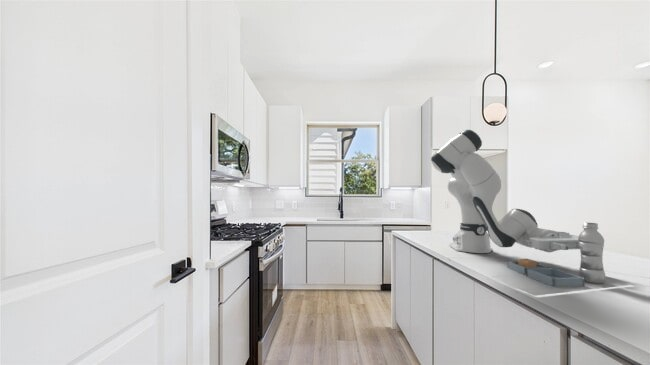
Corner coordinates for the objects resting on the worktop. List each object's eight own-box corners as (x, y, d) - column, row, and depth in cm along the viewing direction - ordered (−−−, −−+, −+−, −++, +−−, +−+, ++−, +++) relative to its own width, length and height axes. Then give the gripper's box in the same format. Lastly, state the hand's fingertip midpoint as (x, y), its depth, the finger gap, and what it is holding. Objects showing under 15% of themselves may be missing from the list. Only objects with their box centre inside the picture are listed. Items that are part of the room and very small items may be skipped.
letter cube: (518, 269, 107) (518, 259, 107) (527, 268, 108) (526, 258, 108) (528, 272, 103) (527, 261, 103) (536, 271, 104) (536, 261, 104)
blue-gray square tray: (507, 269, 110) (507, 261, 110) (529, 268, 110) (529, 260, 110) (525, 276, 101) (525, 267, 101) (549, 275, 101) (549, 267, 101)
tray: (526, 277, 99) (526, 268, 99) (554, 276, 100) (553, 268, 100) (553, 288, 88) (553, 278, 88) (584, 287, 88) (584, 277, 89)
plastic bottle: (594, 279, 96) (591, 222, 96) (612, 286, 89) (609, 224, 90) (573, 279, 97) (571, 222, 97) (590, 286, 90) (588, 224, 90)
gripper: (520, 232, 111) (550, 238, 97) (569, 232, 112) (606, 238, 98) (521, 248, 110) (550, 257, 97) (570, 247, 111) (606, 256, 98)
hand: (579, 247), depth 97 cm, fingers open, 8 cm apart
